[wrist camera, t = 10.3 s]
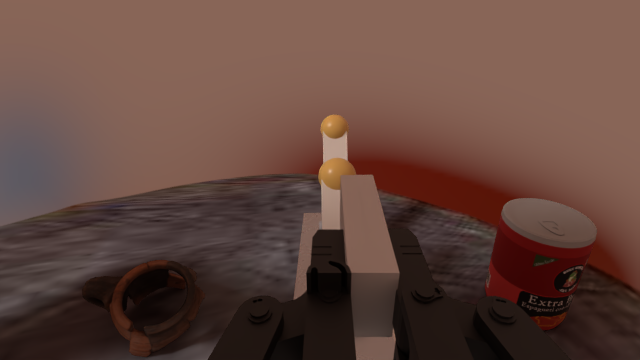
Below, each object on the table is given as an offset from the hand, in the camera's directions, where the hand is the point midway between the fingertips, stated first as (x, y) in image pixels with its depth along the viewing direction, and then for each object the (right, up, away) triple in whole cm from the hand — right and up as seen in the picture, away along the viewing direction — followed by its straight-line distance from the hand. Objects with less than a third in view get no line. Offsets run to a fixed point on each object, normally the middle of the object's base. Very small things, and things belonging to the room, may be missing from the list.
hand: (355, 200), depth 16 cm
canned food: (+20, -13, +21) cm, 32 cm away
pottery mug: (-20, -14, +21) cm, 32 cm away
